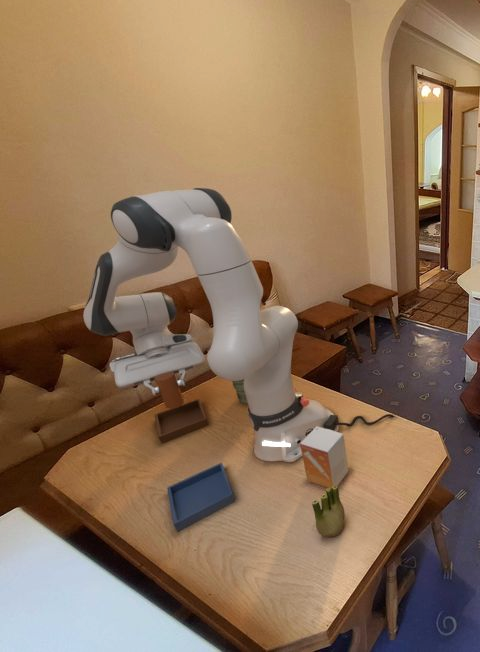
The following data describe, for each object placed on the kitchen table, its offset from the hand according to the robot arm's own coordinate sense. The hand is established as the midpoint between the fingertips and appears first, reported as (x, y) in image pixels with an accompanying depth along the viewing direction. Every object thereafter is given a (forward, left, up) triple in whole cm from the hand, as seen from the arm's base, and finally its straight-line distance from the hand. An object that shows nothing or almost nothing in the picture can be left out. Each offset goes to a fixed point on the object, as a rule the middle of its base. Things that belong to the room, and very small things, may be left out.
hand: (169, 390), depth 102 cm
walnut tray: (0, -1, -13) cm, 13 cm away
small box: (-25, +47, -13) cm, 55 cm away
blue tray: (0, +33, -13) cm, 35 cm away
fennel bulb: (-20, +61, -13) cm, 65 cm away
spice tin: (0, -1, -5) cm, 5 cm away
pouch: (-20, 0, -13) cm, 24 cm away
